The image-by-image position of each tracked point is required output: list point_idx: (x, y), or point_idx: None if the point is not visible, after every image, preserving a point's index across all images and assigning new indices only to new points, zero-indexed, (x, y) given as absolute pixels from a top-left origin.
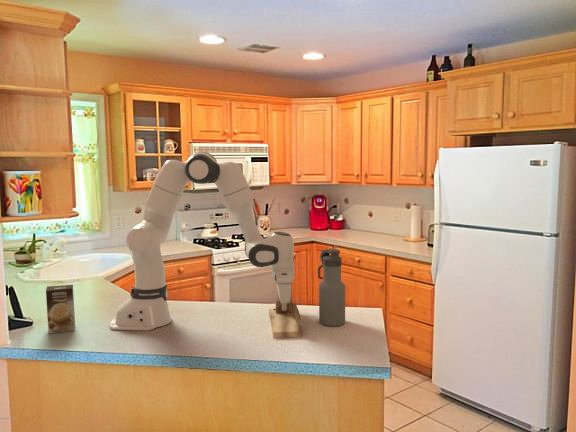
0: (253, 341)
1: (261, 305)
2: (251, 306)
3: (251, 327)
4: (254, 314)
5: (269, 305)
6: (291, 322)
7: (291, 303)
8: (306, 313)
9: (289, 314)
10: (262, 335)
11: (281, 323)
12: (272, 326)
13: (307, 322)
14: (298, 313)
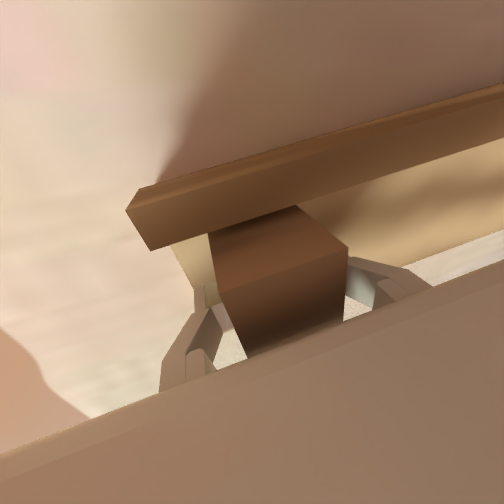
0: (481, 262)
1: (86, 382)
2: (126, 398)
3: (369, 307)
4: (232, 351)
5: (61, 359)
6: (461, 159)
7: (327, 230)
8: (122, 52)
9: (315, 204)
10: (451, 254)
11: (447, 214)
12: (463, 243)
13: (371, 28)
14: (497, 109)
